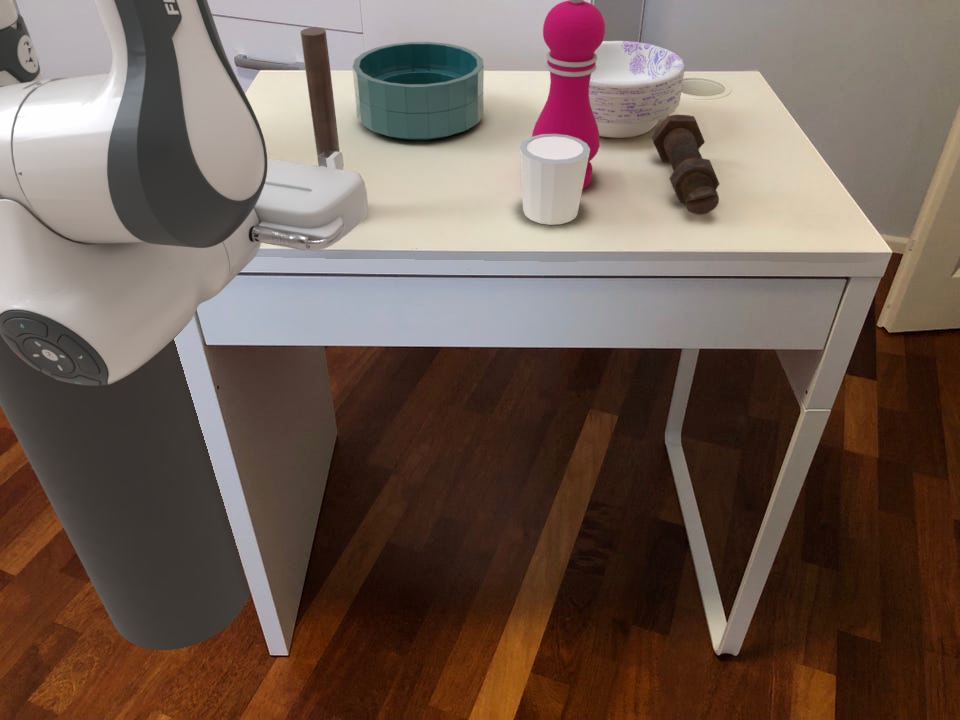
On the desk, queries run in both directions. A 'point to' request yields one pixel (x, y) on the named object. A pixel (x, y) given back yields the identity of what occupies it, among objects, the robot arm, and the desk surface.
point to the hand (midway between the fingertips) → (286, 151)
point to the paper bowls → (633, 87)
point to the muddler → (320, 89)
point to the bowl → (419, 89)
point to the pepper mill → (571, 73)
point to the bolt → (687, 163)
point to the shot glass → (552, 177)
